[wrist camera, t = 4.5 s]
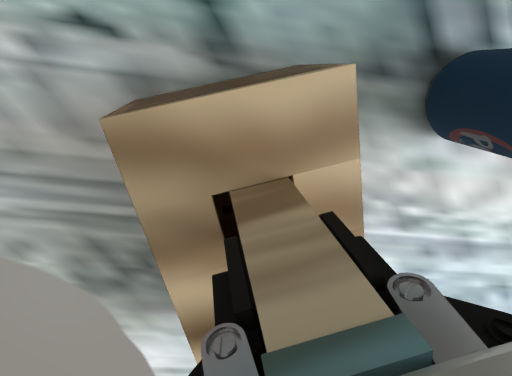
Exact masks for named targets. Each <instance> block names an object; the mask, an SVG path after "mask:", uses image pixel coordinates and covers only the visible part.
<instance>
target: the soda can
mask: <svg viewBox="0 0 512 376" xmlns="http://www.w3.org/2000/svg"><path fill="white" fill-rule="evenodd" d="M425 112H426V115H427V118H428V120H429V122H430V124H431V126H432V128H433V129H434V131H435V132H436V133H437V134H438V135H439V136H441V137H442V138H444V139H447V140H450V141H453V142H457V143H460V144H464V145H467V146H471V147H474V148H478V149H481V150H485V151H488V152H492V153H495V154H499V155H502V156H506V157H509V158H512V48H511V49H494V50H477V51H472V52H468V53H466V54H463V55H461V56H460V57H458V58H456V59H455V60H453V61H452V62H451V63H449V64H448V65H447V66H446V67H445V68H443V69H442V70H441V71H440V72H439V73H438V74H437V75H436V77H435V78H434V79H433V81H432V82H431V84H430V86H429V88H428V91H427V94H426V99H425Z"/></svg>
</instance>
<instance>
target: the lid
mask: <svg viewBox="0 0 512 376" xmlns="http://www.w3.org/2000/svg"><path fill="white" fill-rule="evenodd" d="M99 121H100V123H101V126H102V128H103V131H104V133H105V136H106V138H107V141H108V143H109V146H110V148H111V151H112V153H113V156H114V158H115V161H116V163H117V166H118V168H119V171H120V173H121V175H122V178H123V180H124V183H125V185H126V188H127V190H128V193H129V195H130V198H131V200H132V203H133V205H134V208H135V210H136V213H137V215H138V218H139V220H140V223H141V225H142V228H143V230H144V233H145V235H146V238H147V240H148V243H149V245H150V248H151V250H152V253H153V255H154V257H155V260H156V262H157V265H158V267H159V270H160V272H161V275H162V277H163V280H164V282H165V285H166V287H167V290H168V292H169V295H170V297H171V300H172V302H173V305H174V307H175V310H176V312H177V315H178V317H179V320H180V322H181V325H182V327H183V330H184V332H185V335H186V337H187V340H188V342H189V344H190V347H191V349H192V352H193V354H194V357H195V359H196V362H197V364H198V363H199V362H200V361H201V359H202V357H201V343H202V341H203V338H204V337H205V335H206V334H207V332H209V331H210V330H211V329H212V328H214V327H215V319H214V303H213V286H212V275H214V274H218V273H222V272H225V271H228V268H227V261H226V254H225V246H224V235H223V232H222V228H221V225H220V221H219V217H218V214H217V210H216V206H215V203H214V199H213V196H212V195H215V194H219V193H223V192H227V191H231V190H235V189H239V188H243V187H247V186H251V185H255V184H259V183H263V182H267V181H271V180H275V179H279V178H283V177H287V176H289V179H290V180H291V181H292V183H293V184H294V185H295V186H296V188H297V189H298V190H299V192H300V193H301V194H302V196H303V197H304V198H305V199H306V201H307V202H308V203H309V205H310V206H311V207H312V209H313V210H314V211H315V212H316V214H317V215H318V216H319V215H320V214H323V213H327V212H330V211H333V212H334V213H335V214H336V215H337V216H338V218H339V219H340V220H341V221H342V222H343V223H344V224H345V226H346V227H347V228H348V229H349V230H350V231H351V232H352V233H353V235H354V236H355V237H356V236H362V237H363V238H364V225H363V205H362V184H361V164H360V143H359V123H358V102H357V82H356V63H355V64H342V65H338V66H333V67H329V68H324V69H319V70H315V71H310V72H306V73H301V74H296V75H292V76H287V77H283V78H278V79H273V80H269V81H264V82H259V83H255V84H250V85H246V86H241V87H236V88H232V89H227V90H223V91H218V92H213V93H209V94H204V95H200V96H195V97H190V98H186V99H181V100H177V101H172V102H167V103H163V104H158V105H154V106H149V107H144V108H140V109H135V110H130V111H126V112H121V113H117V114H112V115H107V116H104V117H102V118H101V119H99Z"/></svg>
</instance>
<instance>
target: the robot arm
mask: <svg viewBox="0 0 512 376" xmlns="http://www.w3.org/2000/svg"><path fill="white" fill-rule="evenodd" d="M319 218H320V219H321V220H322V222H323V223H324V224H325V225H326V227H327V228H328V229H329V231H330V232H331V233H332V235H333V236H334V237H335V239H336V240H337V241H338V242H339V244H340V245H341V246H342V248H343V249H344V250H345V252H346V253H347V254H348V255H349V257H350V258H351V259H352V261H353V262H354V263H355V265H356V266H357V267H358V268H359V270H360V271H361V272H362V274H363V275H364V276H365V278H366V279H367V280H368V281H369V283H370V284H371V285H372V287H373V288H374V289H375V291H376V292H377V293H378V295H379V296H380V297H381V298H382V300H383V301H384V302H385V304H386V305H387V306H388V308H389V309H390V310H391V311H392V313H393V314H394V315H398V314H401V313H404V314H405V316H406V317H407V318H408V319H409V320H410V322H411V323H412V324H413V325H414V327H415V328H416V329H417V330H418V332H419V333H420V334H421V335H422V336H423V338H424V339H425V340H426V341H427V343H428V344H429V345H430V346H431V348H432V349H433V360H432V366H429V367H426V368H422V369H419V370H416V371H413V372H409V373H406V374H403V375H400V376H512V315H511V314H508V313H505V312H501V311H498V310H494V309H490V308H486V307H483V306H479V305H475V304H472V303H468V302H464V301H461V300H457V299H453V298H450V297H446V296H443V295H442V294H441V292H440V291H439V290H438V289H437V288H436V287H435V285H434V284H433V283H432V282H430V281H429V280H428V279H426V278H425V277H423V276H421V275H417V274H414V273H399V274H396V273H395V271H394V270H393V269H392V268H391V267H390V266H389V265H388V264H387V263H386V262H385V261H384V260H383V258H382V257H381V256H380V255H379V254H378V253H377V252H376V251H375V250H374V249H373V248H372V247H371V245H370V244H369V243H368V242H367V241H366V240H365V239H364V238H363V237H362V236H356V237H355V236H354V235H353V233H352V232H351V231H350V230H349V229H348V228H347V227H346V226H345V224H344V223H343V222H342V221H341V220H340V219H339V218H338V216H337V215H336V214H335V213H334V212H333V211H330V212H327V213H323V214H320V215H319ZM224 246H225V254H226V261H227V268H228V271H225V272H222V273H218V274H214V275H212V286H213V303H214V319H215V327H214V328H212V329H211V330H210V331H209V332H207V334H206V335H205V337H204V338H203V341H202V343H201V357H202V359H201V361H200V362H199V363H198V364H197V366H196V367H195V368H194V369H193V371H192V372H191V373H190V374H189V375H188V376H265V373H264V368H263V364H262V359H261V355H262V354H265V353H267V350H266V346H265V342H264V338H263V333H262V329H261V325H260V320H259V316H258V312H257V308H256V303H255V299H254V295H253V291H252V286H251V282H250V278H249V273H248V269H247V265H246V261H245V256H244V252H243V248H242V244H241V239H237V237H236V236H234V237H230V238H226V239H224Z"/></svg>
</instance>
